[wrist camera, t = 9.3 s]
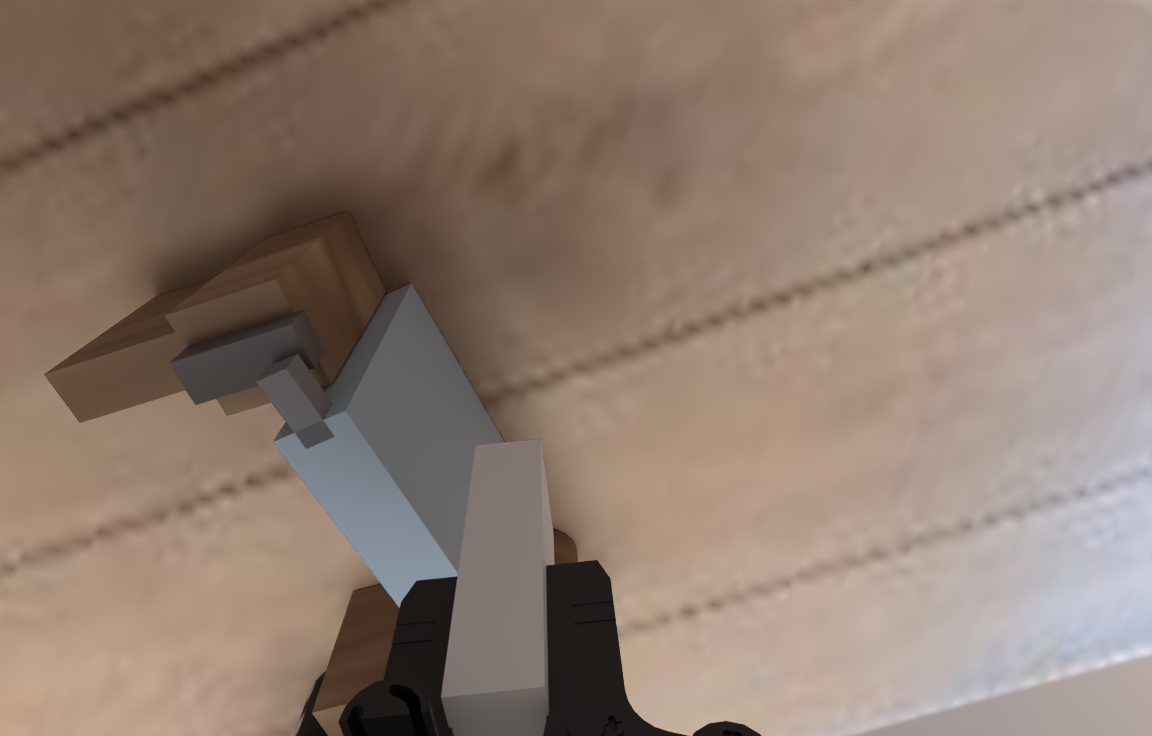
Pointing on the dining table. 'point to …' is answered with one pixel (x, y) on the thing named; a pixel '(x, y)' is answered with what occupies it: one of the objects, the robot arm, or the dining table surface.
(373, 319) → the gate
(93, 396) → the pair of brown blocks
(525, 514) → the robot arm
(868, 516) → the dining table surface
